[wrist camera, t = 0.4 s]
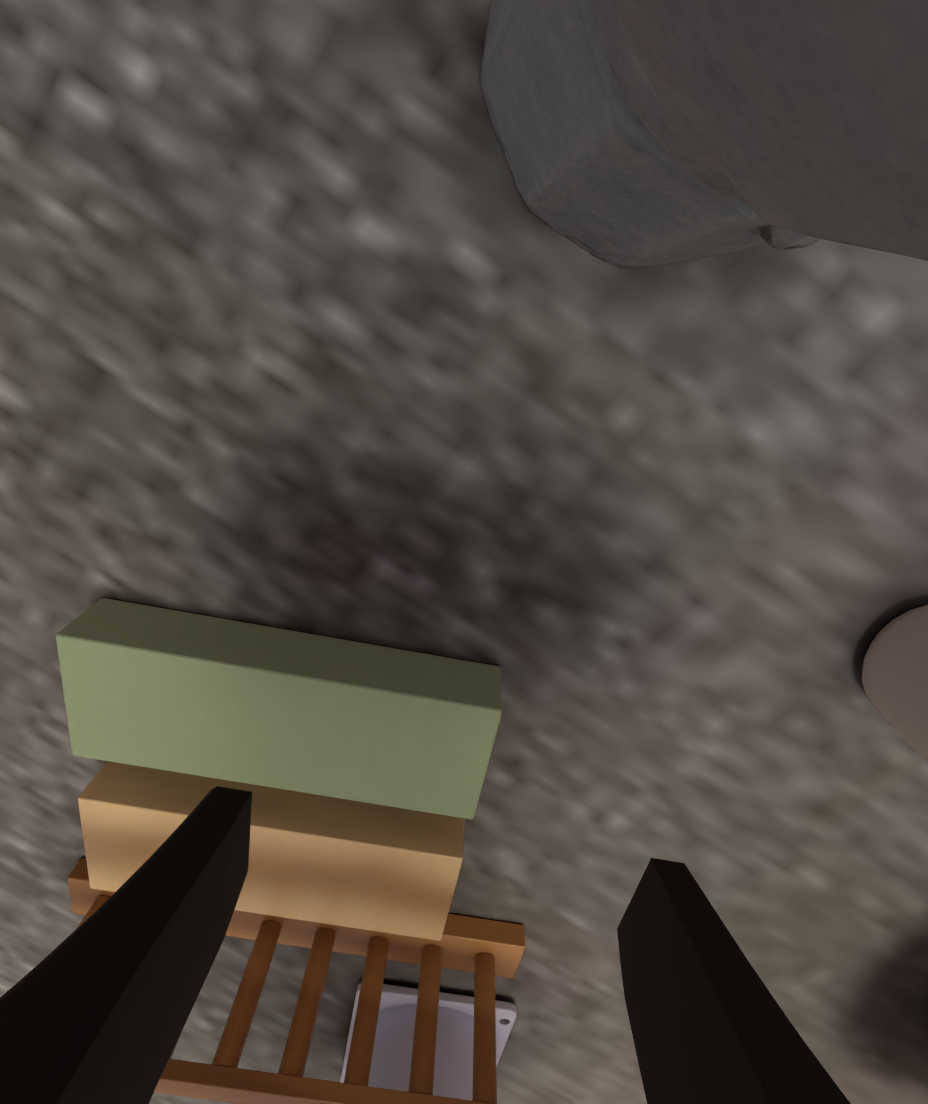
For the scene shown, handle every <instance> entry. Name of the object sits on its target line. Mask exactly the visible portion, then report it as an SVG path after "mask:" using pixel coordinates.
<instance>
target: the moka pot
mask: <svg viewBox="0 0 928 1104" xmlns="http://www.w3.org/2000/svg"><path fill="white" fill-rule="evenodd" d="M479 80H480V83H481V87H482V90H483V94H484V97H485V101H486V104H487V108H488V111H489V115H490V118H491V122H492V124H493V127H494V130H495V133H496V135H497V138H498V140H499V142H500V144H501V146H502V149H503V152H504V155H505V157H506V160H507V162H508V165H509V167H510V169H511V172H512V174H513V177H514V180H515V184H516V187H517V189H518V191H519V192H520V194H521V196H522V198H523V200H524V202H525V203H526V205H527V207H528V209H529V210H530V211H531V212H533V213H534V214H536V215H537V216H538V217H540V218H541V219H542V220H544V221H545V222H546V223H547V224H548V225H549V226H550V227H552V228H553V229H554V230H555V231H557V232H558V233H560V234H562V235H563V236H565V237H566V238H568V239H569V240H571V241H573V242H574V243H576V244H577V245H578V246H579V247H581V248H583V249H585V250H586V251H588V252H589V253H591V254H592V255H593V256H595V257H597V258H599V259H601V260H603V261H605V262H607V263H610V264H612V265H614V266H616V267H619V268H621V269H622V268H634V267H647V266H656V265H663V264H669V263H676V262H682V261H688V260H693V259H698V258H704V257H709V256H715V255H723V254H730V253H734V252H738V251H742V250H745V249H748V248H750V247H753V246H756V245H759V244H763V243H766V242H767V243H768V244H769V245H771V246H772V247H774V248H775V249H777V250H787V249H795V248H803V247H806V246H808V245H811V244H813V243H815V242H816V241H818V240H819V239H824V240H830V241H835V242H840V243H845V244H850V245H855V246H860V247H865V248H870V249H875V250H880V251H886V252H891V253H895V254H900V255H905V256H909V257H914V258H918V259H922V260H926V261H928V0H491V4H490V10H489V16H488V23H487V30H486V37H485V45H484V51H483V56H482V62H481V68H480V78H479Z"/></svg>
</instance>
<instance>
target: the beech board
mask: <svg viewBox="0 0 928 1104" xmlns="http://www.w3.org/2000/svg"><path fill="white" fill-rule="evenodd" d="M217 786H220V787H226V788H232V789H238V790H244V791H250V792H252V806H251V826H250V846H249V866H248V872H247V875H246V878H245V881H244V884H243V887H242V890H241V893H240V896H239V898H238V901H237V904H236V907H235V910H237V911H244V912H251V913H257V914H264V915H271V916H277V917H284V918H291V919H297V920H304V921H310V922H317V923H324V924H330V925H337V926H344V927H350V928H357V929H364V930H370V931H377V932H384V933H390V934H397V935H403V936H410V937H417V938H423V939H430V940H437V941H441V938H442V935H443V931H444V927H445V924H446V920H447V916H448V912H449V909H450V905H451V901H452V898H453V894H454V890H455V887H456V883H457V879H458V875H459V872H460V868H461V864H462V861H463V847H464V822H465V818H459V817H452V816H446V815H440V814H434V813H427V812H421V811H415V810H409V809H403V808H396V807H390V806H384V805H378V804H371V803H365V802H359V801H353V800H347V799H340V798H334V797H328V796H322V795H315V794H309V793H303V792H297V791H291V790H284V789H278V788H272V787H266V786H259V785H253V784H247V783H241V782H235V781H228V780H222V779H216V778H210V777H203V776H197V775H191V774H185V773H178V772H172V771H166V770H160V769H154V768H147V767H141V766H135V765H129V764H122V763H116V762H110V761H107V762H106V764H105V765H104V766H103V767H102V769H101V770H100V771H99V772H98V774H97V775H96V776H95V777H94V779H93V780H92V781H91V782H90V784H89V785H88V786H87V787H86V789H85V790H84V791H83V792H82V794H81V795H80V796H79V797H78V804H79V811H80V818H81V826H82V833H83V840H84V847H85V854H86V861H87V869H88V876H89V883H90V888H91V889H98V890H105V891H111V892H116V891H117V890H118V889H119V888H120V887H121V886H122V885H123V884H124V883H125V882H126V881H127V880H128V879H129V878H130V877H131V876H132V875H133V874H134V873H135V872H136V871H137V870H138V869H139V868H140V867H141V866H142V865H143V864H144V863H145V862H146V861H147V860H148V859H149V858H150V857H151V855H152V854H153V853H154V852H155V851H156V850H157V849H158V848H159V847H160V846H161V845H162V844H163V843H164V842H165V841H166V840H167V838H168V837H169V836H170V835H171V834H172V833H173V832H174V831H175V830H176V829H177V828H178V827H179V825H180V824H181V823H182V822H183V821H184V820H185V819H186V818H187V817H188V815H189V814H190V813H191V812H192V811H193V810H194V809H195V808H196V806H197V805H198V804H199V803H200V802H201V801H202V799H203V798H204V797H205V796H206V795H207V794H208V792H209V791H210V790H211V789H213V788H215V787H217Z"/></svg>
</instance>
